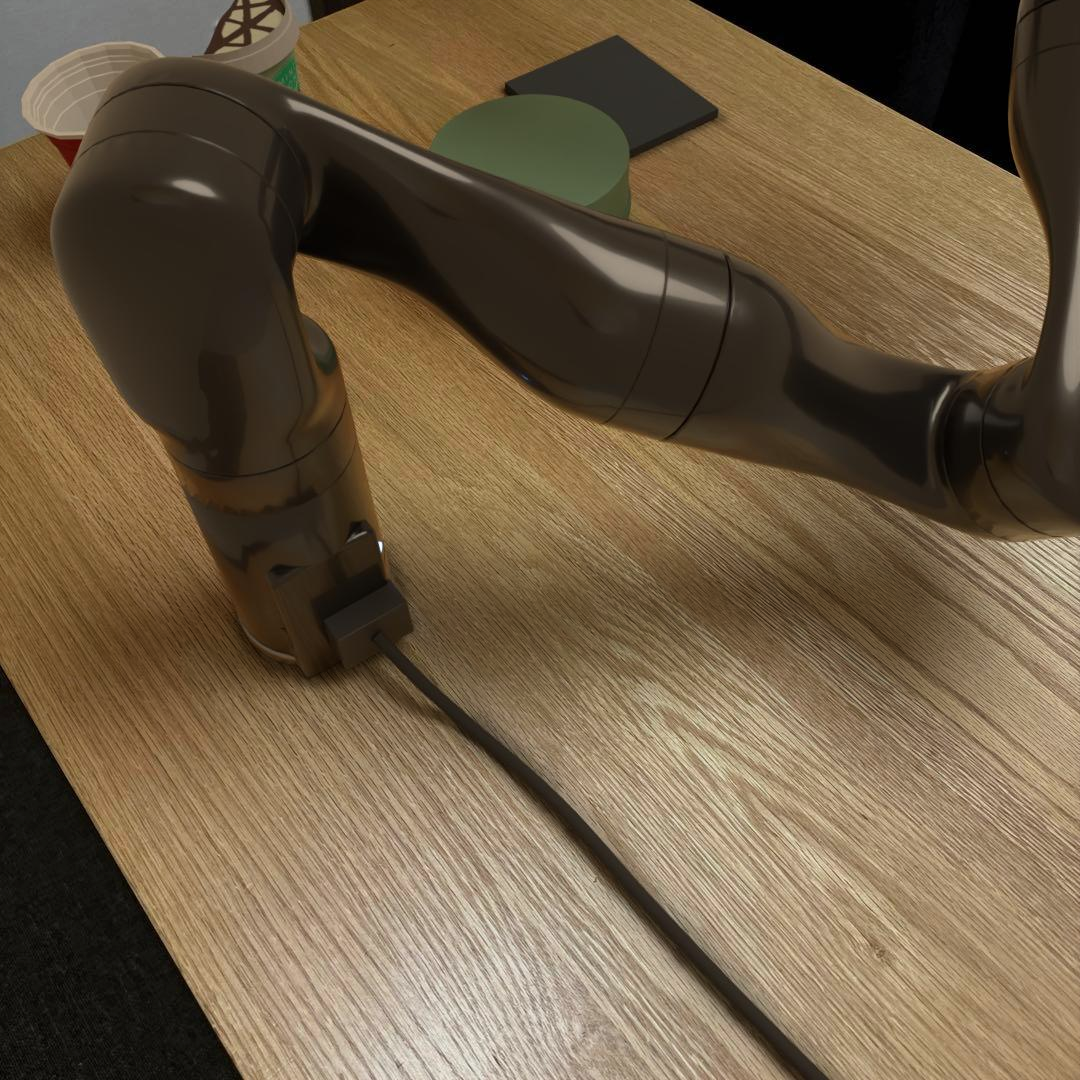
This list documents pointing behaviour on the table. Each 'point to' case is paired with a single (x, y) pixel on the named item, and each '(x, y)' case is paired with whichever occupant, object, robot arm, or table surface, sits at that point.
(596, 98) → the mat
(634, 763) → the table surface
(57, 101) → the plastic cup
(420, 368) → the table surface
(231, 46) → the food container
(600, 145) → the sage green puck
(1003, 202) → the table surface
